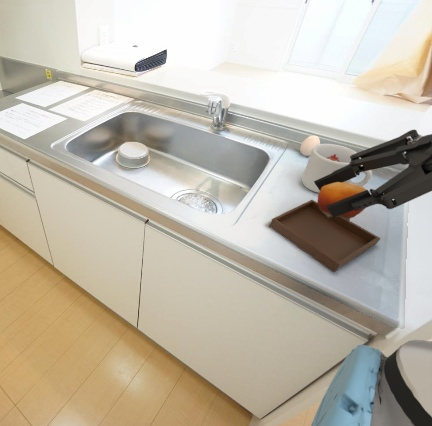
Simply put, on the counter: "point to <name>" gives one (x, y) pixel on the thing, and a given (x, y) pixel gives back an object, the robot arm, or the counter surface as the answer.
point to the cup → (329, 164)
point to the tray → (323, 235)
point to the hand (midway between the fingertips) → (323, 198)
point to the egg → (309, 145)
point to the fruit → (338, 197)
